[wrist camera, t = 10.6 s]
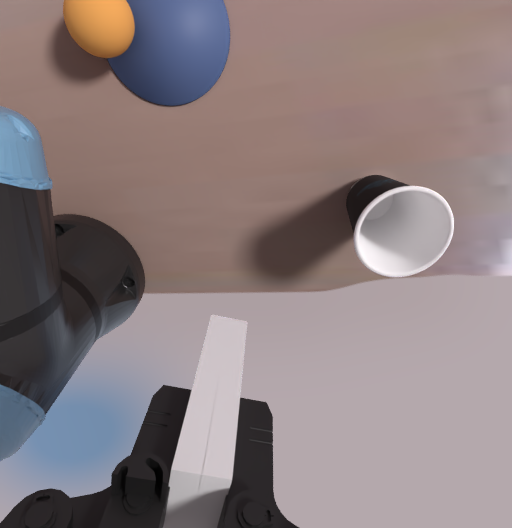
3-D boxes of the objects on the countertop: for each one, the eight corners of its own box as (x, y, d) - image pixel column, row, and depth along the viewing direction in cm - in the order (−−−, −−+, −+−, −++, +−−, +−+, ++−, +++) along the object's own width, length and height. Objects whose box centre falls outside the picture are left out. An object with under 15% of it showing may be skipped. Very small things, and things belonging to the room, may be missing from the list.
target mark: (177, 132, 36) (176, 132, 36) (74, 38, 33) (73, 37, 33) (257, 29, 32) (257, 29, 32) (149, -90, 29) (148, -91, 29)
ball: (66, 64, 29) (105, 67, 34) (121, 43, 28) (154, 50, 33) (35, -16, 27) (81, 0, 32) (93, -43, 26) (132, -22, 31)
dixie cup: (368, 144, 36) (405, 165, 26) (422, 190, 38) (476, 226, 28) (317, 204, 39) (333, 243, 29) (370, 244, 41) (401, 294, 31)
